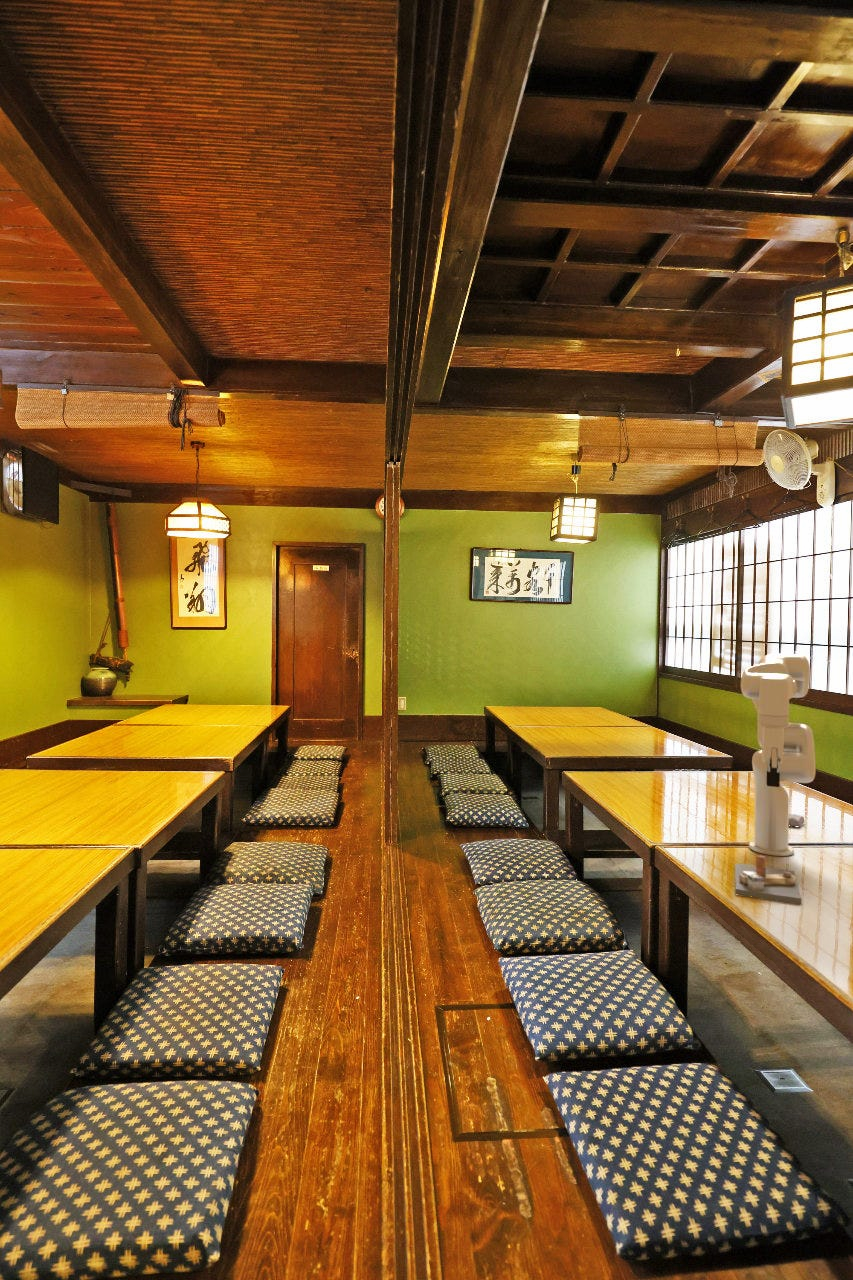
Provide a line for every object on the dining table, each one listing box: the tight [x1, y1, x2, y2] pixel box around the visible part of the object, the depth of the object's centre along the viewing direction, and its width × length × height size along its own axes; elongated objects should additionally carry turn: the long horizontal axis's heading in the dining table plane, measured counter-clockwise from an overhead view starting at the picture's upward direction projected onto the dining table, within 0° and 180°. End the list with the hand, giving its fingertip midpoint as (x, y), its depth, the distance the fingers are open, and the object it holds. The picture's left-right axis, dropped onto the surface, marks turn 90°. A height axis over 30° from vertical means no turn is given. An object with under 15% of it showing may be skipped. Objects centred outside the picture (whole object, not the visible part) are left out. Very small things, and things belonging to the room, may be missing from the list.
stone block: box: [789, 813, 806, 826], centre depth 245 cm, size 12×5×10 cm
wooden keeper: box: [742, 871, 764, 890], centre depth 177 cm, size 3×5×3 cm, turn 4°
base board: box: [734, 862, 802, 905], centre depth 183 cm, size 22×15×2 cm
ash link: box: [739, 854, 797, 885], centre depth 180 cm, size 14×4×7 cm, turn 90°
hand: (773, 785), depth 189 cm, fingers closed
